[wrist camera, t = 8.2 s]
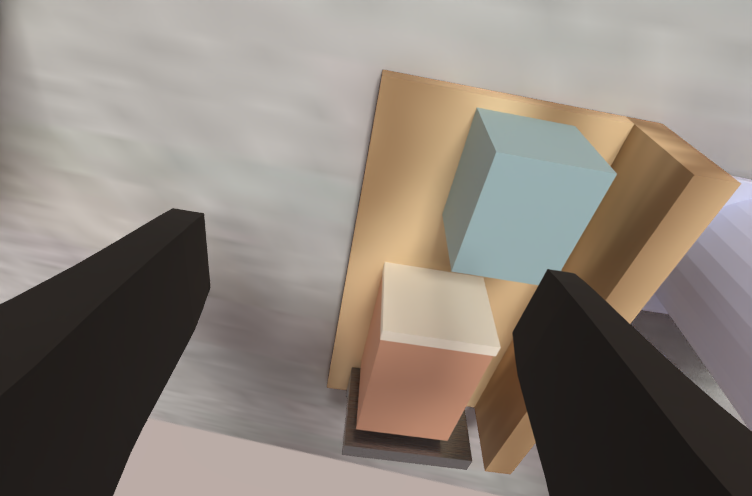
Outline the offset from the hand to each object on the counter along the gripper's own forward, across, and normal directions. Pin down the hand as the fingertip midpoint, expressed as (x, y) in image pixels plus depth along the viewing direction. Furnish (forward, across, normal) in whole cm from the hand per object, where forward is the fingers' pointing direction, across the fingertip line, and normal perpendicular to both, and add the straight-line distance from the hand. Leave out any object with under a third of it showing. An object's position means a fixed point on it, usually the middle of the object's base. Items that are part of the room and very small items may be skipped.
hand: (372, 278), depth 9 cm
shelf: (+10, -6, +8) cm, 15 cm away
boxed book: (+10, -4, +11) cm, 15 cm away
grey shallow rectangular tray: (+10, -5, +17) cm, 20 cm away
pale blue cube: (+10, -6, +2) cm, 12 cm away
